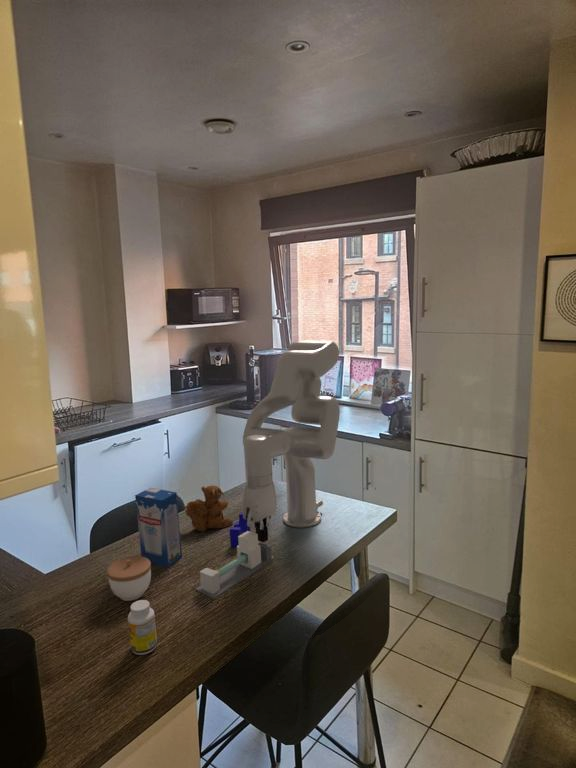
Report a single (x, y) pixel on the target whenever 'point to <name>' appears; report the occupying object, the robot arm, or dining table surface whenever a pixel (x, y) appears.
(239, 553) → the sleeve
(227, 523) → the stuffed squirrel
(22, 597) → the dining table surface
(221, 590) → the threaded rod slide
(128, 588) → the lidded jar
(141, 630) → the supplement bottle
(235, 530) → the blue curved block
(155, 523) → the milk carton
